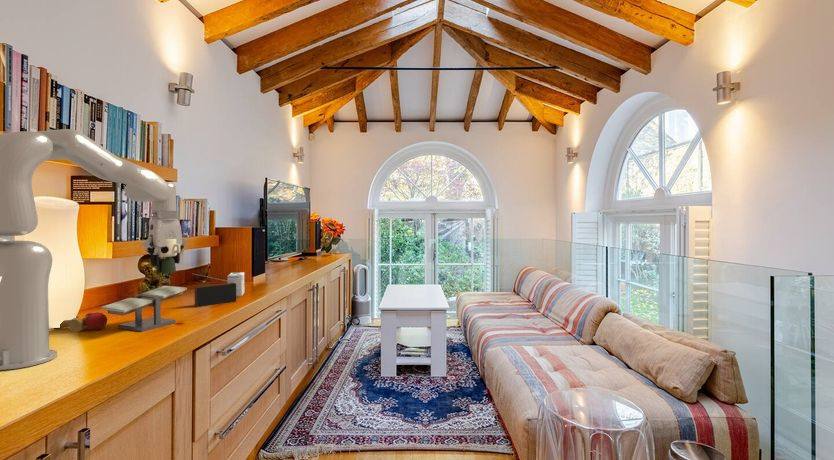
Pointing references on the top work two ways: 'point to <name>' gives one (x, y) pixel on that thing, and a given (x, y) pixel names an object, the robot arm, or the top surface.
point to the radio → (215, 294)
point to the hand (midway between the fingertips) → (165, 264)
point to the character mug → (167, 257)
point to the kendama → (86, 322)
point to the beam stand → (147, 319)
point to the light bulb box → (237, 282)
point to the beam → (143, 300)
